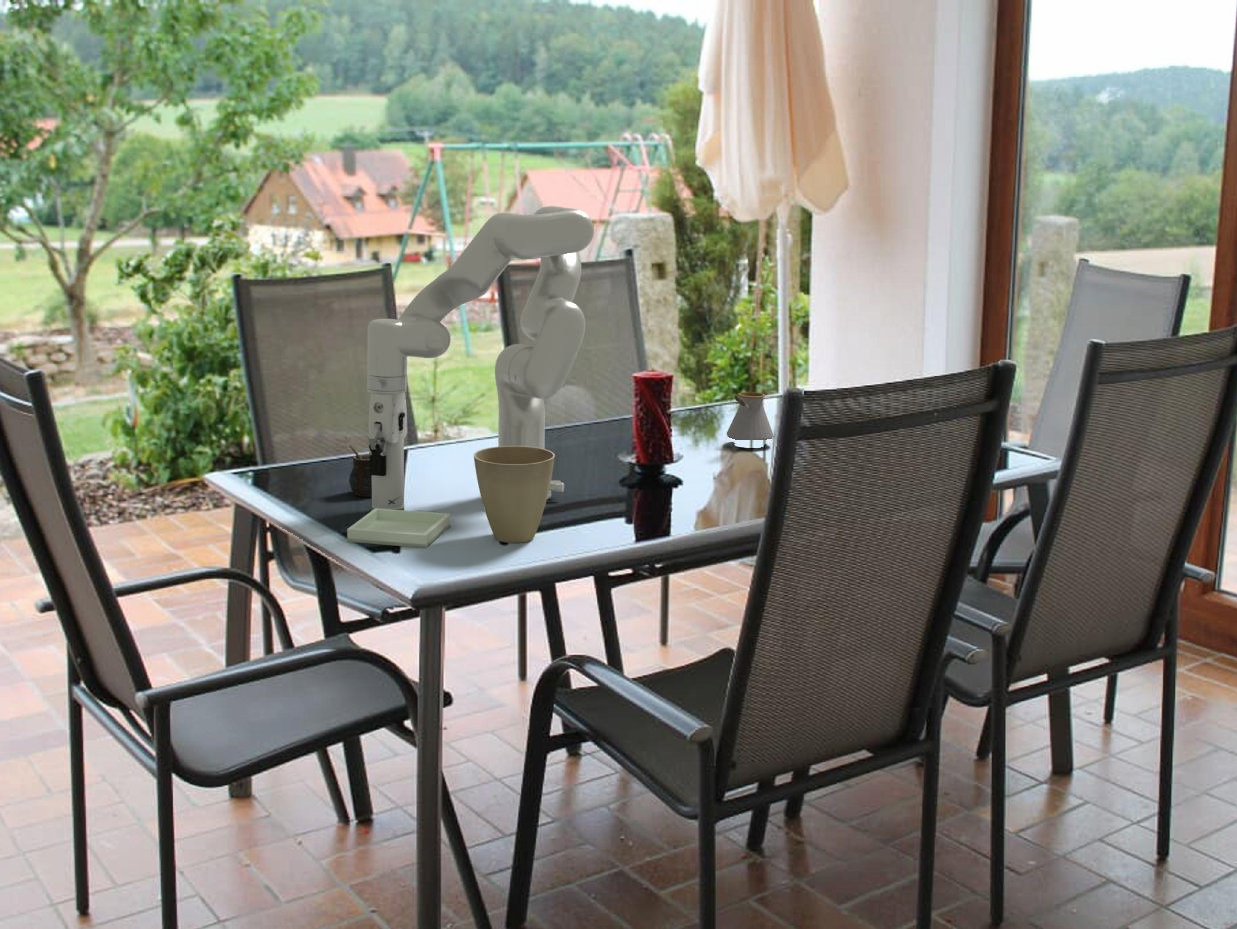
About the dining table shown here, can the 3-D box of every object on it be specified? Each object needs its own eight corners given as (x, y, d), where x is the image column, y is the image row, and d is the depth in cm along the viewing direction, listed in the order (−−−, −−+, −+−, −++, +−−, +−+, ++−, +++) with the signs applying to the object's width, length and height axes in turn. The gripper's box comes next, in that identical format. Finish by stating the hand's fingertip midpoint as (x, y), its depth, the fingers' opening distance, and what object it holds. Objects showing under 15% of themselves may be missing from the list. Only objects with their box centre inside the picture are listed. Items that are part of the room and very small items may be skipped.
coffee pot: (733, 439, 351) (736, 380, 347) (777, 443, 347) (781, 384, 343) (708, 456, 331) (711, 393, 328) (755, 461, 327) (758, 398, 324)
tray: (450, 526, 266) (450, 513, 266) (426, 547, 252) (426, 535, 251) (375, 520, 269) (375, 508, 268) (347, 541, 254) (347, 529, 254)
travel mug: (399, 517, 271) (398, 416, 267) (367, 514, 272) (365, 414, 268) (410, 509, 277) (409, 410, 273) (378, 506, 278) (377, 408, 274)
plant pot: (482, 524, 268) (482, 443, 264) (558, 529, 266) (560, 447, 263) (465, 546, 253) (466, 461, 250) (546, 551, 252) (548, 465, 248)
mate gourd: (377, 500, 284) (377, 452, 281) (342, 497, 285) (341, 449, 283) (389, 491, 291) (389, 444, 288) (355, 489, 292) (354, 442, 290)
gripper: (390, 392, 260) (390, 481, 264) (419, 378, 277) (418, 462, 280) (352, 389, 261) (352, 478, 265) (383, 375, 278) (382, 459, 282)
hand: (386, 469), depth 273 cm, fingers open, 9 cm apart
